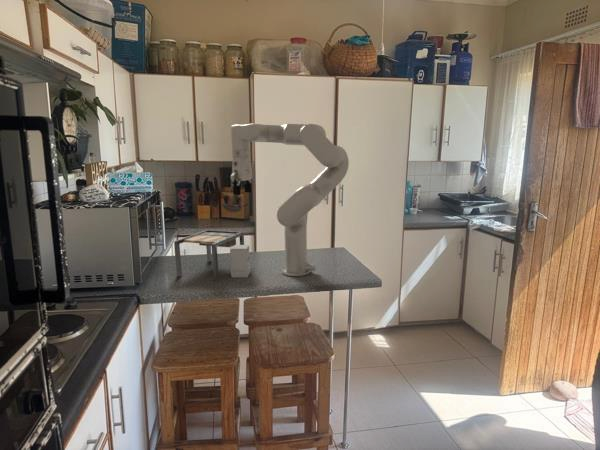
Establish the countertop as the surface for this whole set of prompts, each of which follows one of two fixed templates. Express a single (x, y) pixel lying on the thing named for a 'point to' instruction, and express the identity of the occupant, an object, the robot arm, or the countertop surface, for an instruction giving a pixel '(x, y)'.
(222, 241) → the frame
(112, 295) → the countertop surface
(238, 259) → the supplement box
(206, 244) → the trapdoor
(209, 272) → the countertop surface
